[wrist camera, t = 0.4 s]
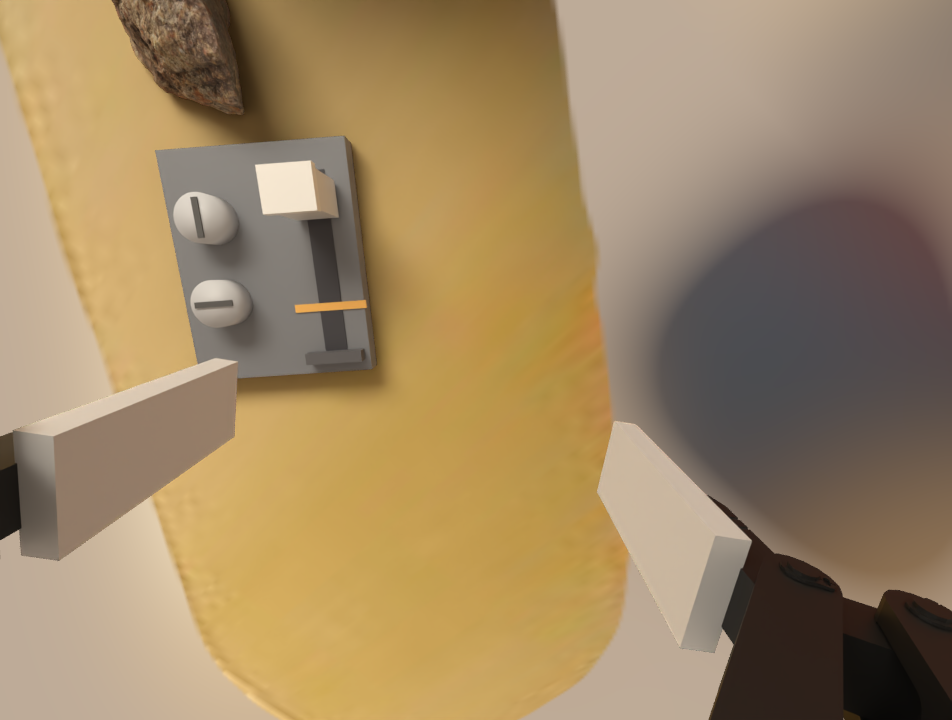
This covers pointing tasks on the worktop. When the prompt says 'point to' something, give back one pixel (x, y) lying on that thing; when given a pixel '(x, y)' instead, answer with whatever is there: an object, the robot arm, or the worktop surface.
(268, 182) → the fader tab
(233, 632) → the worktop surface
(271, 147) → the console
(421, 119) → the worktop surface
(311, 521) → the worktop surface
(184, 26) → the rock
